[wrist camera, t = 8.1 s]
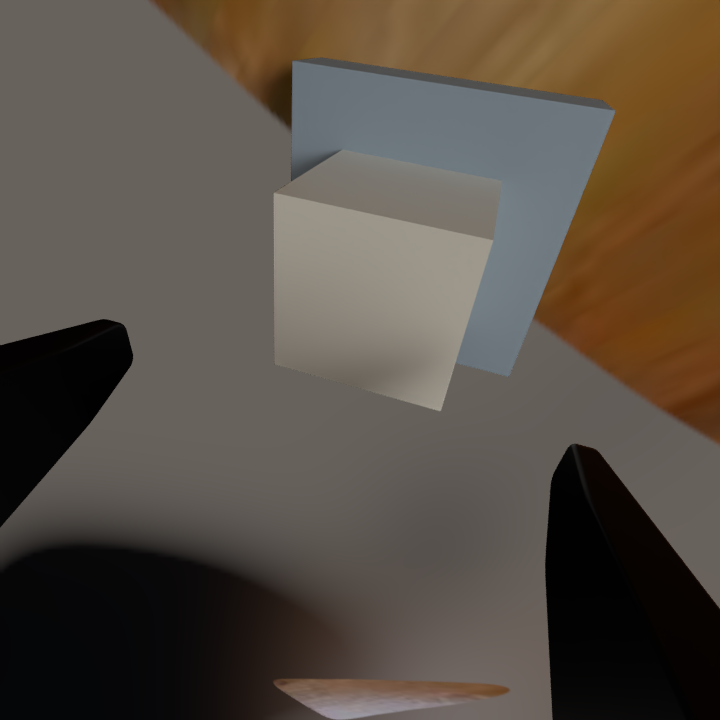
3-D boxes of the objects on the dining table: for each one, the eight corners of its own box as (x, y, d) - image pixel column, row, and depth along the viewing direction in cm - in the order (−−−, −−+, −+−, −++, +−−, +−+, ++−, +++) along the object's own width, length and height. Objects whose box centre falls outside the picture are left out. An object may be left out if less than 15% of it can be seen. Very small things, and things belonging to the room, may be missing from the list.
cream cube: (502, 180, 13) (493, 240, 9) (460, 322, 16) (440, 411, 12) (342, 149, 14) (273, 192, 10) (330, 289, 17) (274, 364, 13)
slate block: (599, 98, 14) (615, 110, 12) (510, 335, 19) (509, 376, 17) (327, 57, 15) (292, 60, 13) (315, 288, 21) (289, 320, 19)
